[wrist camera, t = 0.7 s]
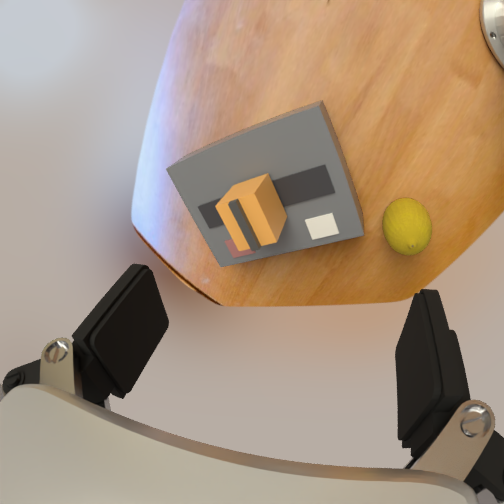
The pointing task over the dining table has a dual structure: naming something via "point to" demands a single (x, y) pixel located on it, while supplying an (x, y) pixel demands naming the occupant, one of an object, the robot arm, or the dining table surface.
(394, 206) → the lemon
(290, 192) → the switch panel
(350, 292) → the dining table surface
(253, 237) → the orange block
